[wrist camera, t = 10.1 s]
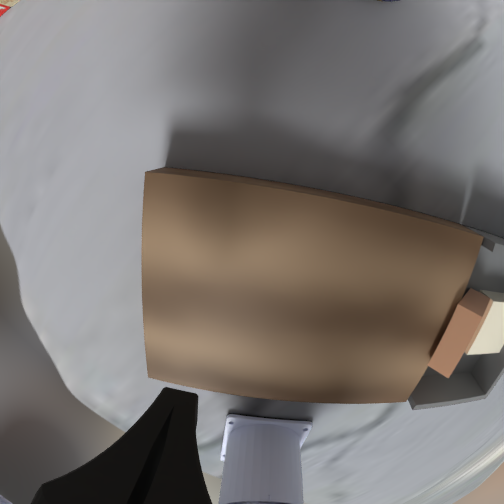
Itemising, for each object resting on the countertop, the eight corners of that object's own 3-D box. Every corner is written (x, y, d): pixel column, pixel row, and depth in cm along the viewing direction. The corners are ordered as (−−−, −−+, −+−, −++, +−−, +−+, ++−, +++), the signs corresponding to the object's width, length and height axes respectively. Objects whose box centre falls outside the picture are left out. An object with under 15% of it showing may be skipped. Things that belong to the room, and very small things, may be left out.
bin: (469, 373, 21) (485, 398, 18) (398, 377, 21) (412, 410, 18) (527, 247, 17) (555, 263, 13) (462, 224, 17) (495, 243, 13)
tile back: (466, 354, 18) (456, 341, 19) (499, 352, 18) (489, 340, 19) (493, 301, 16) (480, 289, 18) (523, 304, 16) (511, 294, 18)
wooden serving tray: (395, 377, 21) (406, 401, 19) (159, 352, 21) (148, 377, 18) (459, 223, 17) (483, 236, 14) (164, 167, 16) (145, 171, 14)
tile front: (446, 340, 19) (464, 351, 18) (427, 365, 16) (448, 378, 15) (470, 287, 18) (490, 298, 16) (458, 303, 15) (482, 317, 13)
